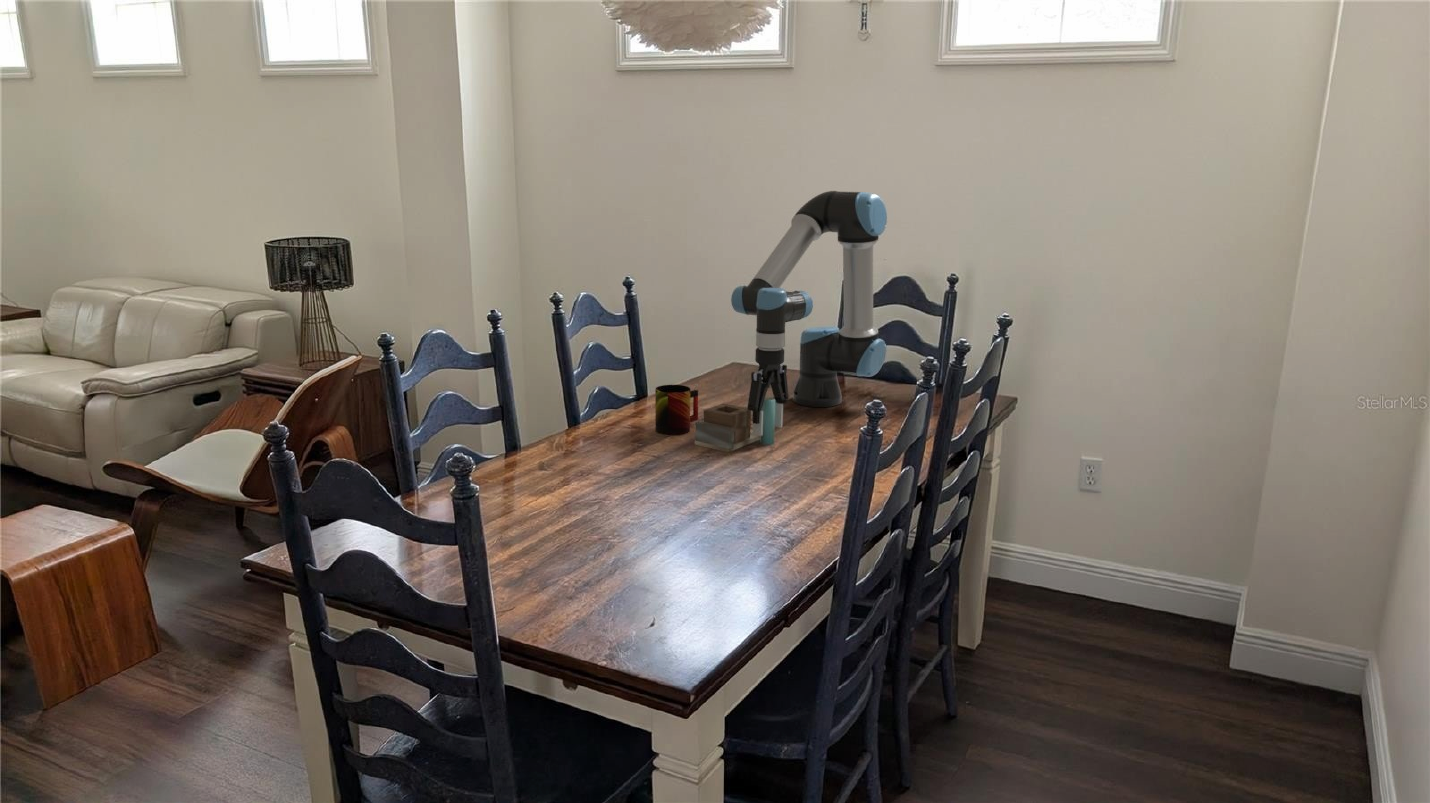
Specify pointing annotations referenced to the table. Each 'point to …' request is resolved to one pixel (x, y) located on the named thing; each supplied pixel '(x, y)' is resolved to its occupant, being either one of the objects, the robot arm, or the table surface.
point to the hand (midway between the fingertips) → (767, 430)
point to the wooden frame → (719, 437)
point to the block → (731, 419)
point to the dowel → (768, 421)
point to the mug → (674, 409)
